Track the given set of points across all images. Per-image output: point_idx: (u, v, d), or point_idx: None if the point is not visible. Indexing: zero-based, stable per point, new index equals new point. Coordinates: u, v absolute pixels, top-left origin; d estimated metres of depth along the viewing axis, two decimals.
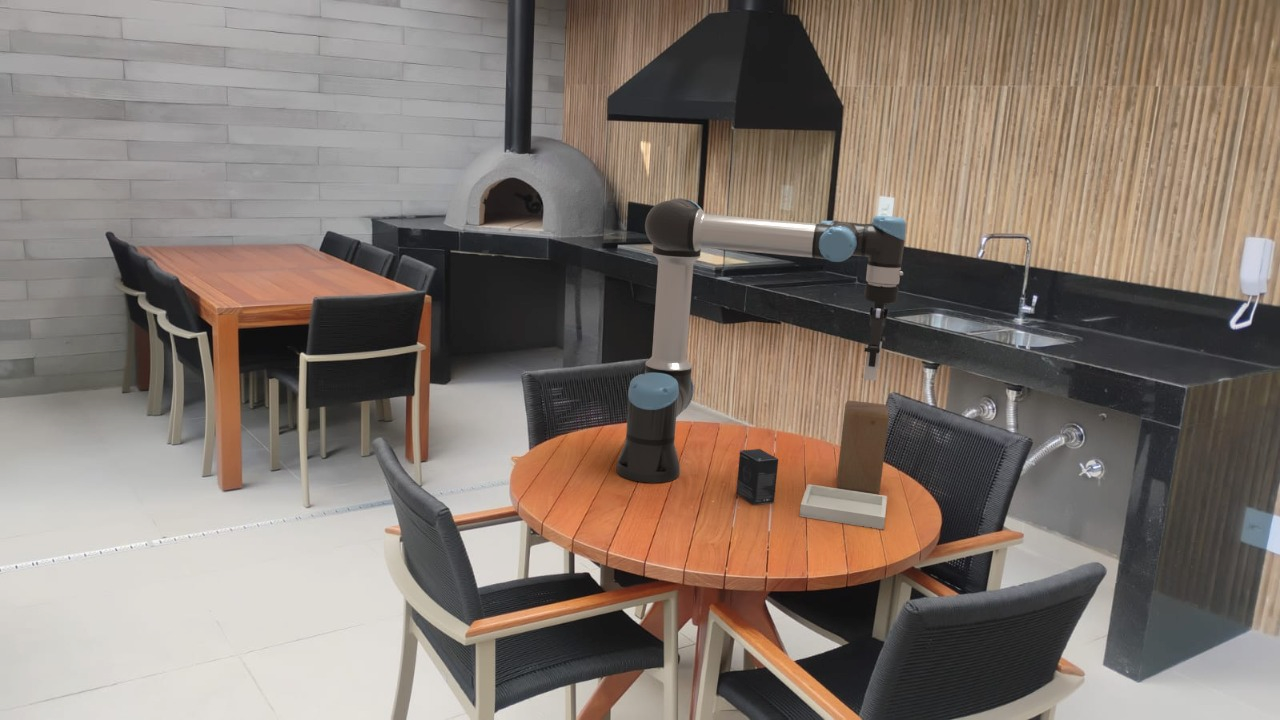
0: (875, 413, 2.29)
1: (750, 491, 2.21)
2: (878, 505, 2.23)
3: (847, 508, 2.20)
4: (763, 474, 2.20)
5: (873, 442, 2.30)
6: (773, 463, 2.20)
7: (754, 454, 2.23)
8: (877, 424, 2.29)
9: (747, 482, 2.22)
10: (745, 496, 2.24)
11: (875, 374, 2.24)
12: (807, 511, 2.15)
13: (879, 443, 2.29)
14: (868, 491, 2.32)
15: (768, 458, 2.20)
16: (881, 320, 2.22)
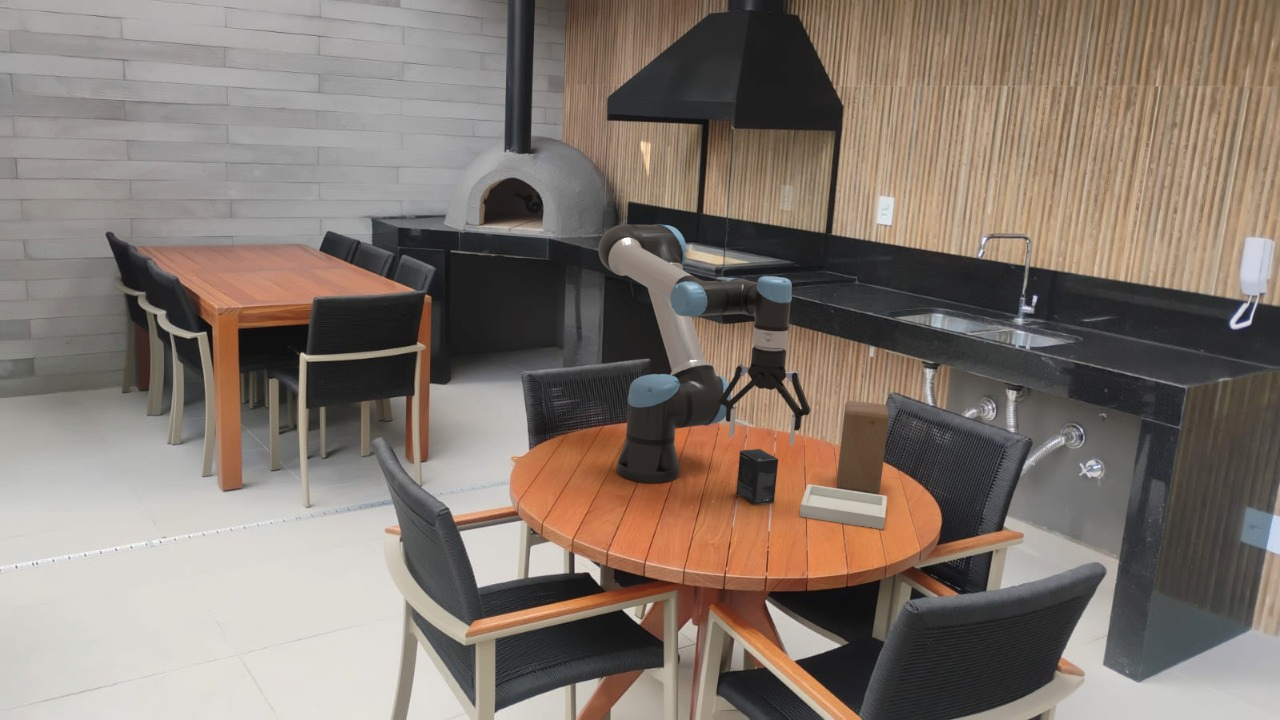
0: (875, 413, 2.29)
1: (750, 491, 2.21)
2: (878, 505, 2.23)
3: (847, 508, 2.20)
4: (763, 474, 2.20)
5: (873, 442, 2.30)
6: (773, 463, 2.20)
7: (754, 454, 2.23)
8: (877, 424, 2.29)
9: (747, 482, 2.22)
10: (745, 496, 2.24)
11: (729, 430, 2.22)
12: (807, 511, 2.15)
13: (879, 443, 2.29)
14: (868, 491, 2.32)
15: (768, 458, 2.20)
16: (734, 376, 2.20)
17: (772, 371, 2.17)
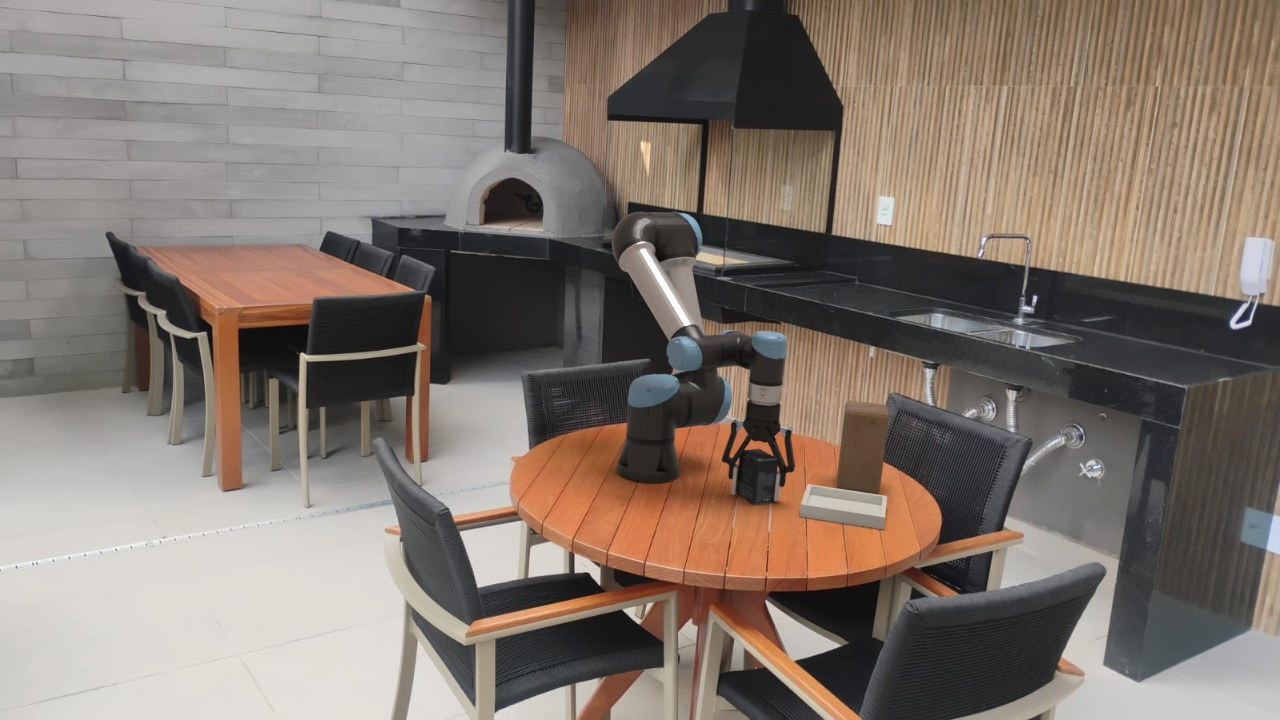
0: (875, 413, 2.29)
1: (750, 490, 2.21)
2: (878, 505, 2.23)
3: (847, 508, 2.20)
4: (763, 473, 2.20)
5: (873, 442, 2.30)
6: (773, 463, 2.20)
7: (754, 453, 2.23)
8: (877, 424, 2.29)
9: (747, 482, 2.22)
10: (745, 495, 2.24)
11: (732, 487, 2.25)
12: (807, 511, 2.15)
13: (879, 443, 2.29)
14: (868, 491, 2.32)
15: (768, 458, 2.20)
16: None
17: (768, 423, 2.20)
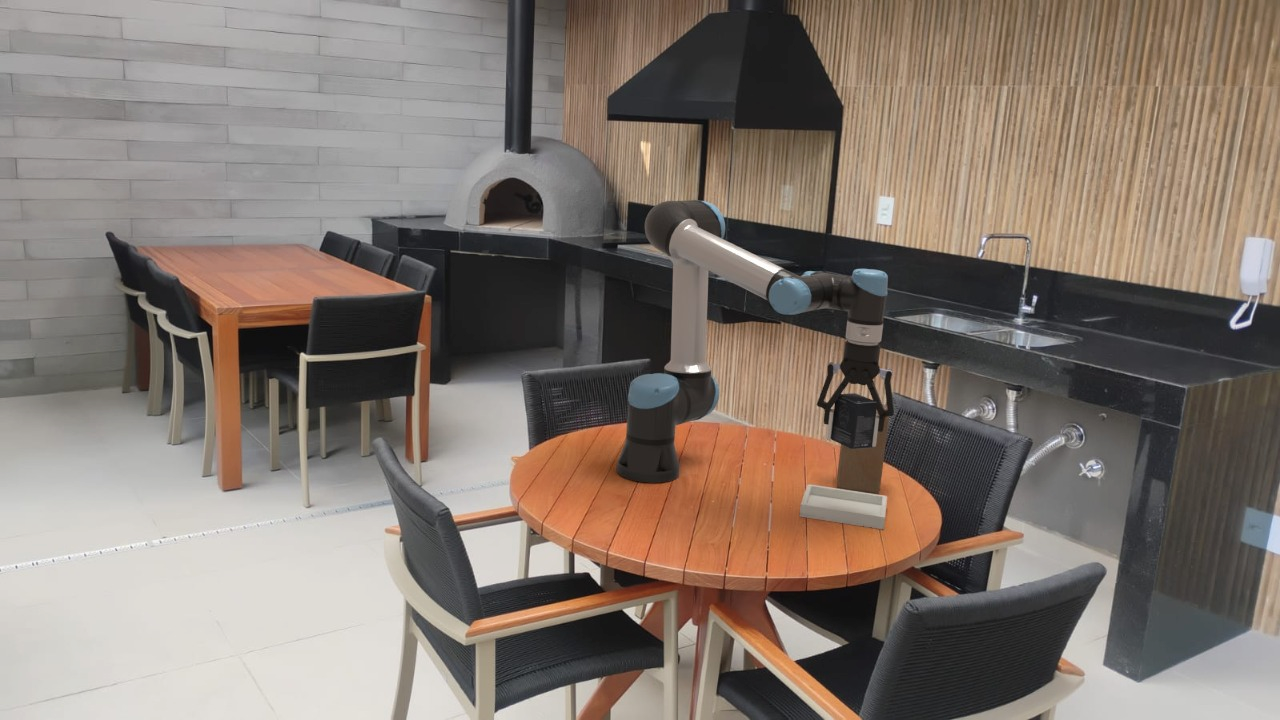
0: None
1: (848, 435, 2.13)
2: (878, 505, 2.23)
3: (847, 508, 2.20)
4: (862, 417, 2.11)
5: None
6: (872, 406, 2.12)
7: (851, 397, 2.14)
8: None
9: (845, 426, 2.14)
10: (841, 441, 2.15)
11: (827, 433, 2.16)
12: (807, 511, 2.15)
13: (879, 443, 2.29)
14: (868, 491, 2.32)
15: (867, 401, 2.12)
16: (827, 375, 2.14)
17: (867, 364, 2.11)
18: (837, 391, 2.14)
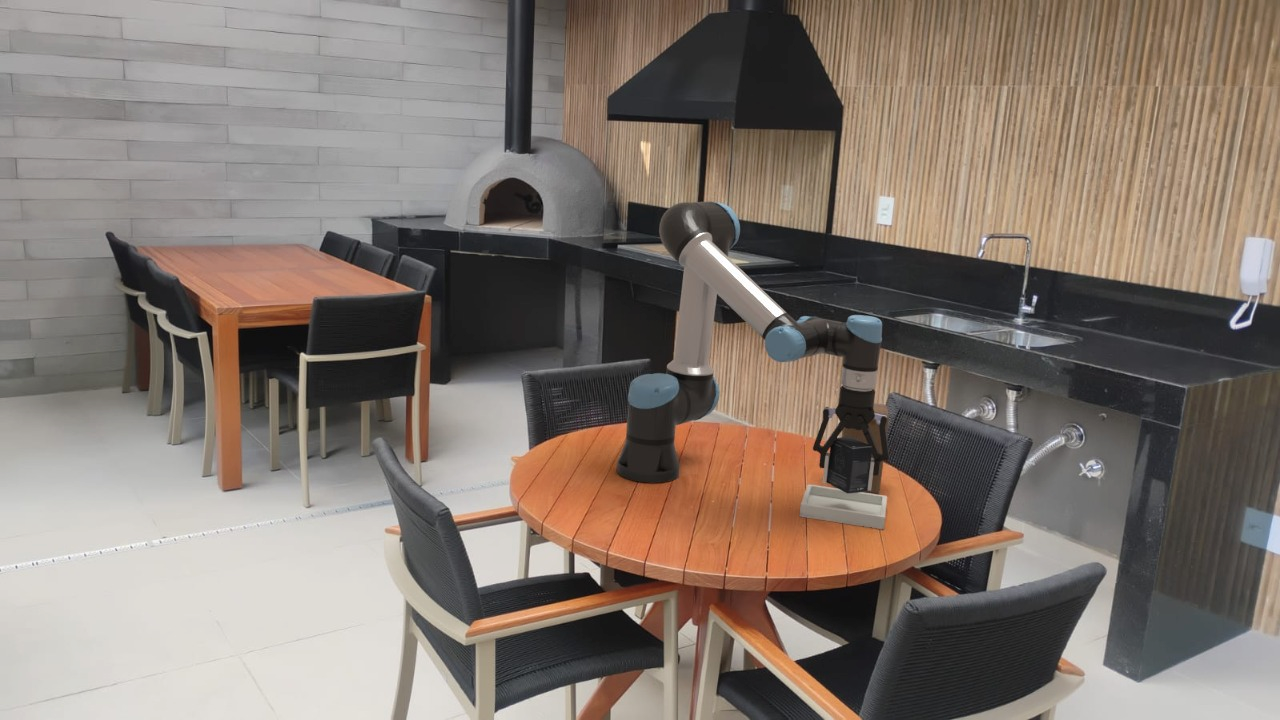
0: None
1: (844, 479, 2.15)
2: (878, 505, 2.23)
3: (847, 508, 2.20)
4: (857, 461, 2.13)
5: None
6: (867, 451, 2.14)
7: (846, 441, 2.16)
8: (877, 424, 2.29)
9: (840, 471, 2.16)
10: (837, 485, 2.17)
11: (823, 477, 2.19)
12: (807, 511, 2.15)
13: (879, 443, 2.29)
14: (868, 491, 2.32)
15: (862, 446, 2.14)
16: None
17: (862, 410, 2.13)
18: (833, 435, 2.16)
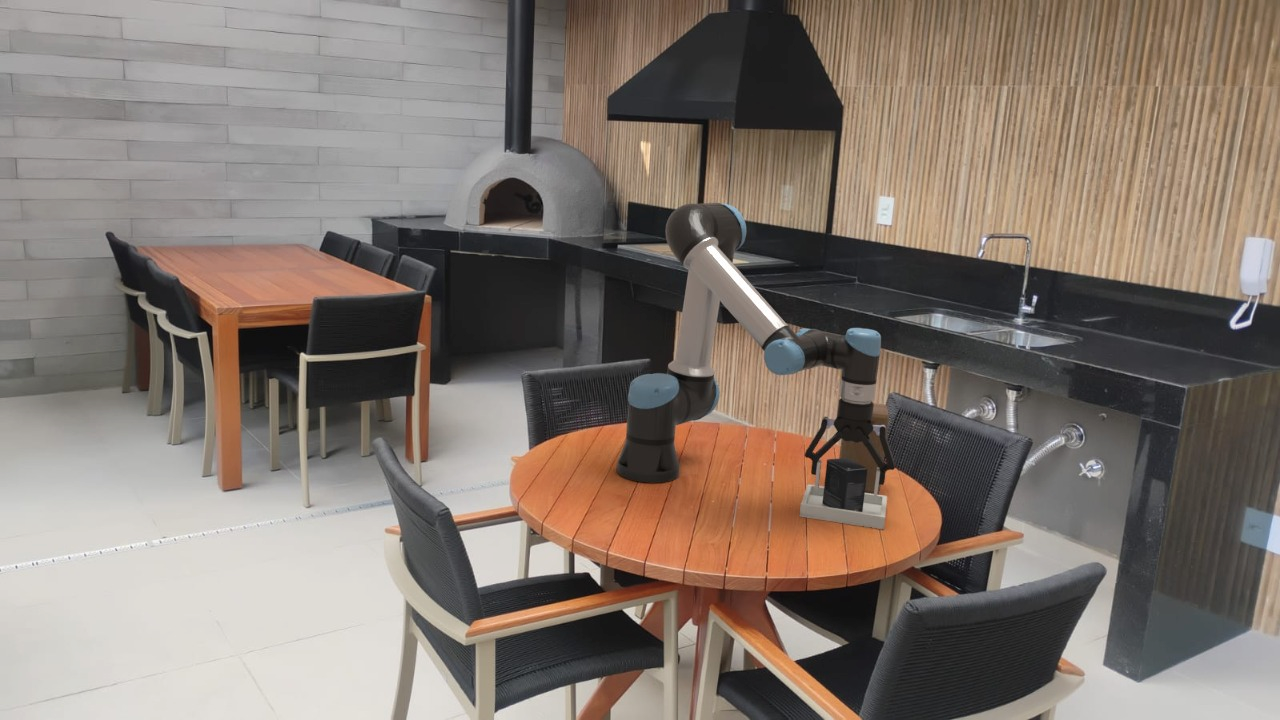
0: (875, 413, 2.29)
1: (838, 501, 2.16)
2: (878, 505, 2.23)
3: None
4: (852, 483, 2.15)
5: (873, 442, 2.30)
6: (862, 473, 2.15)
7: (842, 463, 2.18)
8: (877, 424, 2.29)
9: (835, 492, 2.17)
10: (832, 506, 2.18)
11: (815, 483, 2.20)
12: (807, 511, 2.15)
13: (879, 443, 2.29)
14: (868, 491, 2.32)
15: (857, 467, 2.15)
16: (819, 429, 2.17)
17: (859, 424, 2.14)
18: (827, 445, 2.17)
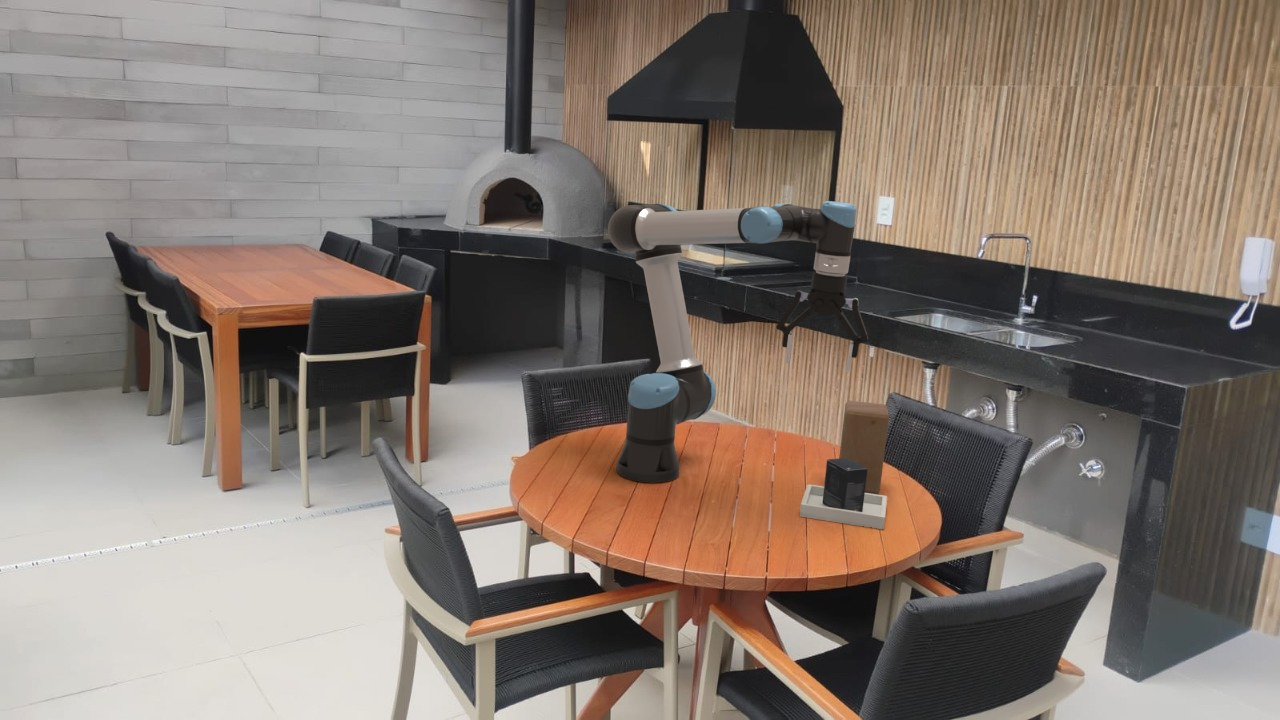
0: (875, 413, 2.29)
1: (838, 501, 2.16)
2: (878, 505, 2.23)
3: None
4: (852, 483, 2.15)
5: (873, 442, 2.30)
6: (862, 472, 2.15)
7: (842, 463, 2.18)
8: (877, 424, 2.29)
9: (835, 492, 2.17)
10: (832, 506, 2.18)
11: None
12: (807, 511, 2.15)
13: (879, 443, 2.29)
14: (868, 491, 2.32)
15: (857, 467, 2.15)
16: (793, 301, 2.19)
17: (832, 297, 2.16)
18: (800, 317, 2.19)
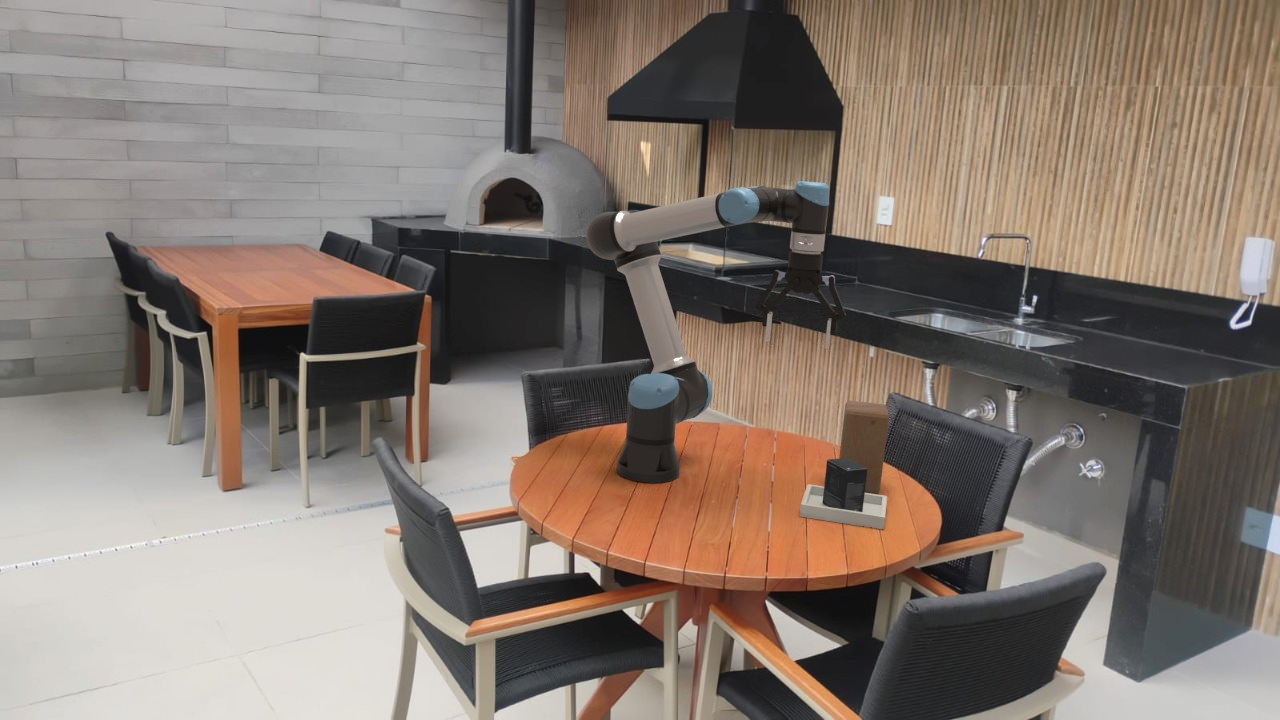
0: (875, 413, 2.29)
1: (838, 501, 2.16)
2: (878, 505, 2.23)
3: None
4: (852, 483, 2.15)
5: (873, 442, 2.30)
6: (862, 472, 2.15)
7: (842, 463, 2.18)
8: (877, 424, 2.29)
9: (835, 492, 2.17)
10: (832, 506, 2.18)
11: None
12: (807, 511, 2.15)
13: (879, 443, 2.29)
14: (868, 491, 2.32)
15: (857, 467, 2.15)
16: (771, 281, 2.23)
17: (809, 275, 2.21)
18: (778, 296, 2.23)
